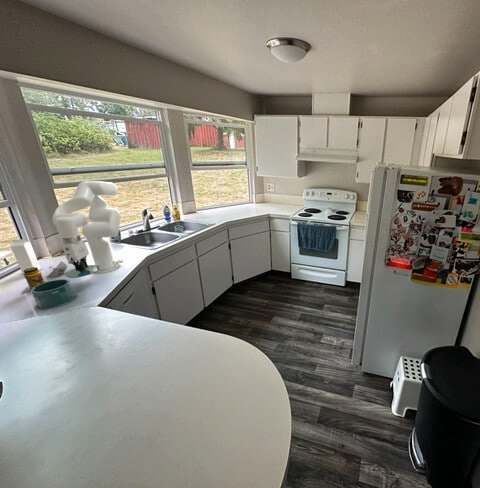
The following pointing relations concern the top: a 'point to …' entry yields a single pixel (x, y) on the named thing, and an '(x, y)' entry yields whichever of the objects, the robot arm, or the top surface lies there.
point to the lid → (85, 272)
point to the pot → (53, 293)
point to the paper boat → (58, 270)
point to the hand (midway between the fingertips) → (82, 268)
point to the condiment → (33, 277)
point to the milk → (24, 254)
